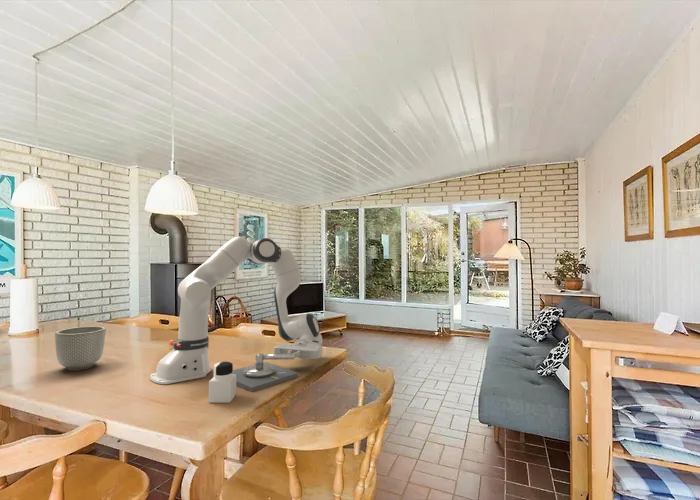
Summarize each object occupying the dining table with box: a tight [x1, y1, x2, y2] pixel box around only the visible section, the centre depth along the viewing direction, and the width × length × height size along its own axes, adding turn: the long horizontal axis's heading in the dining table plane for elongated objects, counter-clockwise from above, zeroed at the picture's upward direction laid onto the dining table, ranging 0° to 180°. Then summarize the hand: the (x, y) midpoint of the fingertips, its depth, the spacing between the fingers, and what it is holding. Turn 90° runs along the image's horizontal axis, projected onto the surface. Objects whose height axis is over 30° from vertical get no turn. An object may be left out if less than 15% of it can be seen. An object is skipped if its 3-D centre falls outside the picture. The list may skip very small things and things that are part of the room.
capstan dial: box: [244, 353, 295, 378], centre depth 144 cm, size 20×12×7 cm, turn 94°
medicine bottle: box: [208, 361, 237, 404], centre depth 122 cm, size 7×7×12 cm
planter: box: [54, 325, 107, 372], centre depth 152 cm, size 17×17×16 cm
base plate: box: [233, 361, 299, 393], centre depth 143 cm, size 22×22×2 cm
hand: (290, 356), depth 145 cm, fingers closed
